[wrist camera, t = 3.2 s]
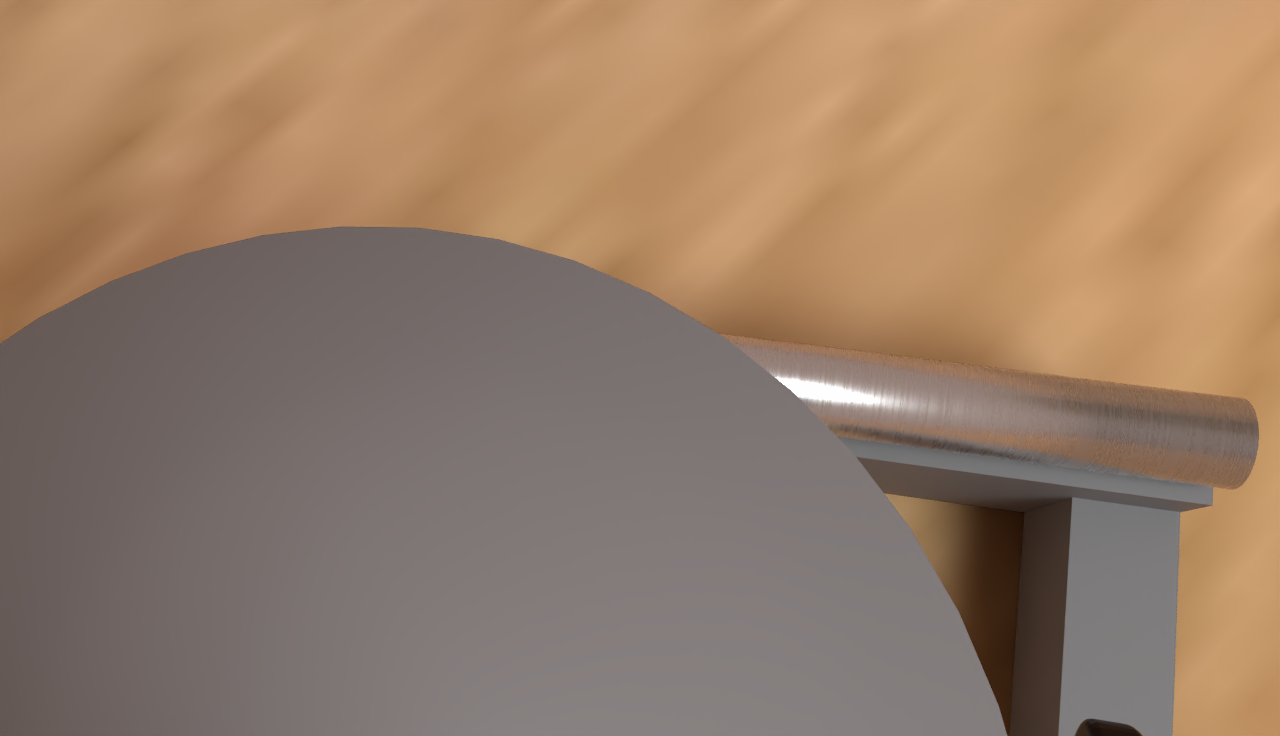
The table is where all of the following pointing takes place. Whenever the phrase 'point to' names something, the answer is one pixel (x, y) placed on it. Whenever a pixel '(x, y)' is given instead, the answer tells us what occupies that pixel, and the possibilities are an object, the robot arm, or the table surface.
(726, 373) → the grey capped tube
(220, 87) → the table surface
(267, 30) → the table surface
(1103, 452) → the dispenser rack
